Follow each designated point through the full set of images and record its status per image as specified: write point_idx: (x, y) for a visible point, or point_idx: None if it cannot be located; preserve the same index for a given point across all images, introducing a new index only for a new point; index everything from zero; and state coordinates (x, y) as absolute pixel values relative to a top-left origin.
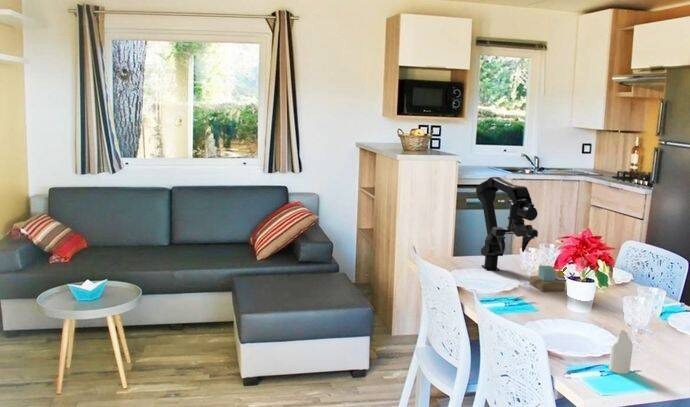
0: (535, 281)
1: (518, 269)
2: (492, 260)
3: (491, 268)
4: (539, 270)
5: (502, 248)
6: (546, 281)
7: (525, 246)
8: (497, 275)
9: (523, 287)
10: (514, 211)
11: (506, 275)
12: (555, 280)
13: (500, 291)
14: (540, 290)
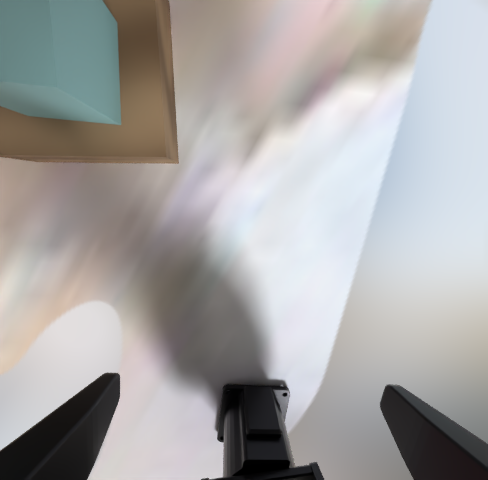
0: (165, 89)
1: None
2: (276, 433)
3: (269, 390)
4: (87, 88)
5: (445, 417)
6: None
7: (21, 455)
8: (275, 317)
9: (245, 112)
10: None
11: (229, 315)
12: None
13: (415, 58)
14: (170, 34)
